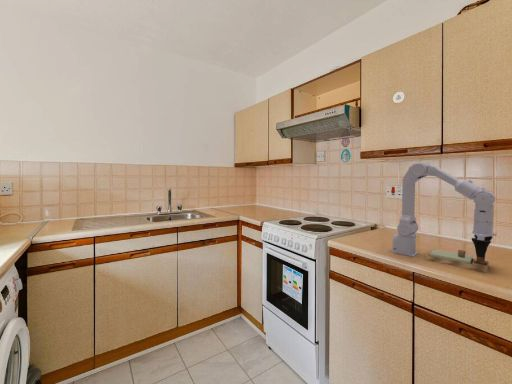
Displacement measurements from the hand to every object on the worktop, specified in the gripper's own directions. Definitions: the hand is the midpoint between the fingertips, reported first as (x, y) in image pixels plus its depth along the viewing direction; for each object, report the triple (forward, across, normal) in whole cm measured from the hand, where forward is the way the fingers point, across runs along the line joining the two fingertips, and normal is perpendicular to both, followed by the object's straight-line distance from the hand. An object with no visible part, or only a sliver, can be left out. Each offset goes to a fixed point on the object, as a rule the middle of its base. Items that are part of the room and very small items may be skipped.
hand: (481, 254), depth 100 cm
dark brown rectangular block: (+5, 0, 0) cm, 5 cm away
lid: (+3, 0, +10) cm, 10 cm away
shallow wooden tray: (+6, 0, +8) cm, 10 cm away
